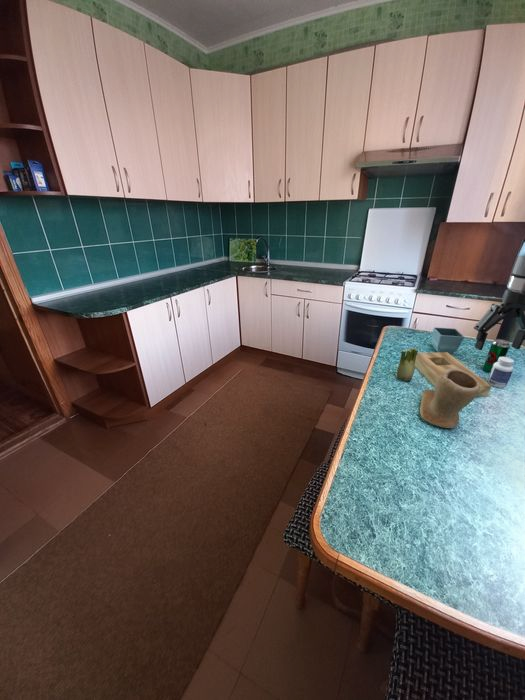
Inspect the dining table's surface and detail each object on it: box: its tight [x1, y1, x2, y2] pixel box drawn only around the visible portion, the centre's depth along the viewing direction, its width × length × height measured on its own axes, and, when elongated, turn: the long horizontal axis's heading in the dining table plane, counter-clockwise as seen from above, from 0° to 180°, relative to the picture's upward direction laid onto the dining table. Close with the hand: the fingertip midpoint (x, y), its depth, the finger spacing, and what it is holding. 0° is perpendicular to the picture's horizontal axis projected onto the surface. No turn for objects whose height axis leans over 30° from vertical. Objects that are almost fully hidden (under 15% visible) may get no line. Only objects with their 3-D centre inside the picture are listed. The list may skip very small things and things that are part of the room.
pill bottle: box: [486, 356, 515, 389], centre depth 98 cm, size 5×5×10 cm
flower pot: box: [431, 327, 465, 355], centre depth 120 cm, size 9×9×9 cm
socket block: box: [415, 351, 492, 398], centre depth 103 cm, size 14×24×4 cm, turn 2°
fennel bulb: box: [396, 347, 419, 382], centre depth 101 cm, size 6×5×12 cm
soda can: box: [482, 338, 511, 374], centre depth 105 cm, size 5×5×12 cm
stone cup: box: [419, 369, 480, 429], centre depth 83 cm, size 15×12×15 cm
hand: (496, 348), depth 104 cm, fingers open, 13 cm apart
